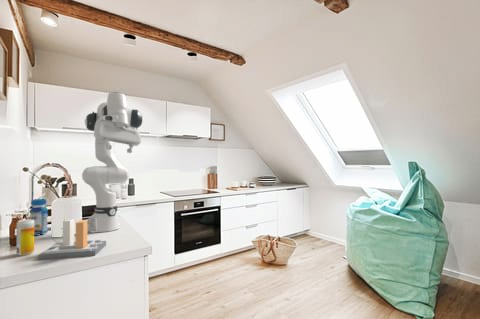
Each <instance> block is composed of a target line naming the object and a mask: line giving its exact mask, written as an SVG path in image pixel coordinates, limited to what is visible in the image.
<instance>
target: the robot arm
mask: <svg viewBox="0 0 480 319" xmlns="http://www.w3.org/2000/svg"><path fill="white" fill-rule="evenodd" d="M142 124H143V115H142V113H141V112H140V111H139V110H138V109H130V108H128V103H127V98H126V95H125V94H124V93H121V92H118V91H113V92H112V91H111V92H109V93H108V94H107V98H106V101H105V102H102V103H100V104H99V105H98V106H97V110H96V112H95V111H92V112H90V113H88V114H87V115H86V117H85V119H84V125H85V128H86V129H87V130H88V131H91V132H93V137H94V138H95V142H94V149H95V158H96V159H97V160H98V161H99V162H101V163H103V164H104V165H102V166H101V165H99V166H98V165H93V166H89V167H85V168H84V169H83V171H82V174H81V177H82V181H83V182H84V183H85V184H87V185H89V186H90V187H91V189H92V190H93V191H94V194H95V195H94V196H95V202H96V206H95V207H94V208H93V210H94V212H93V214H92V215H90V217H89V218H87V233H91V234H93V233H104V232H105V233H106V232H107V233H108V232H111V231H116V230H118V229H120V227H121V224H120V220H119V219H120V218H119V213H118V205H117V193H116V192H115V191H114V190H112V189H110V188H108V187H106V185H108V184H110V185H111V184H120V183H125V182H127V180H128V179H129V176H130V172H129V169H128V168H127V167H126V166H123V165H122V163H120V162H119V160H118V159H117V155H116V149H115V147H116V145H115V143H118V144H123V145H128V148H127V149H126V152H127V154H131V153H132V152H133V148H134V147H138V146H139V145H141V143H142V140H141V134H140V130H139V129H138V128H140V127H141V126H142Z"/></svg>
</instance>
